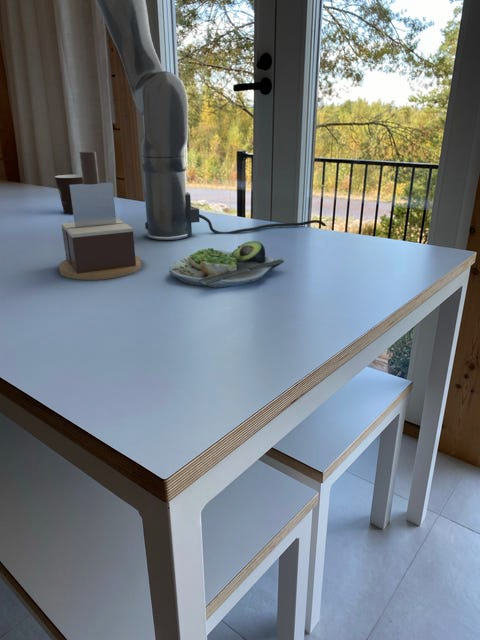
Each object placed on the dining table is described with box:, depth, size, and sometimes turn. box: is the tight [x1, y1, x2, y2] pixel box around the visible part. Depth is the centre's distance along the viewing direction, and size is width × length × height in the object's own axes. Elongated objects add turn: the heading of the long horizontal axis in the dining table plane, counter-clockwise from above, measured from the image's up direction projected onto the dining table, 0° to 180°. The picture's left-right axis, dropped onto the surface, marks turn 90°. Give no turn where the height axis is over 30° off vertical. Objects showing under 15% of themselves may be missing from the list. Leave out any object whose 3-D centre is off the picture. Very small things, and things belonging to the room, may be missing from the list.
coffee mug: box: [54, 174, 83, 216], centre depth 135 cm, size 12×9×10 cm
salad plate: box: [168, 240, 285, 288], centre depth 80 cm, size 19×18×5 cm
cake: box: [58, 217, 142, 281], centre depth 83 cm, size 14×14×8 cm
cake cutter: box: [70, 150, 117, 227], centre depth 79 cm, size 7×3×12 cm, turn 118°
